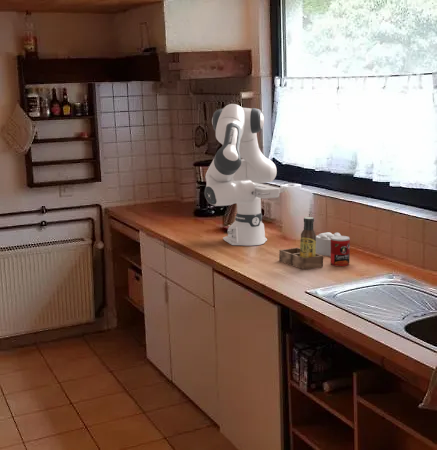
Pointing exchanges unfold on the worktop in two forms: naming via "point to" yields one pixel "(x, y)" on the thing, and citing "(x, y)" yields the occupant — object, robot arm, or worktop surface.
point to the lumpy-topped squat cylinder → (324, 243)
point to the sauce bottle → (308, 239)
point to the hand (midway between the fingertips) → (276, 188)
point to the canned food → (340, 250)
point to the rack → (300, 259)
